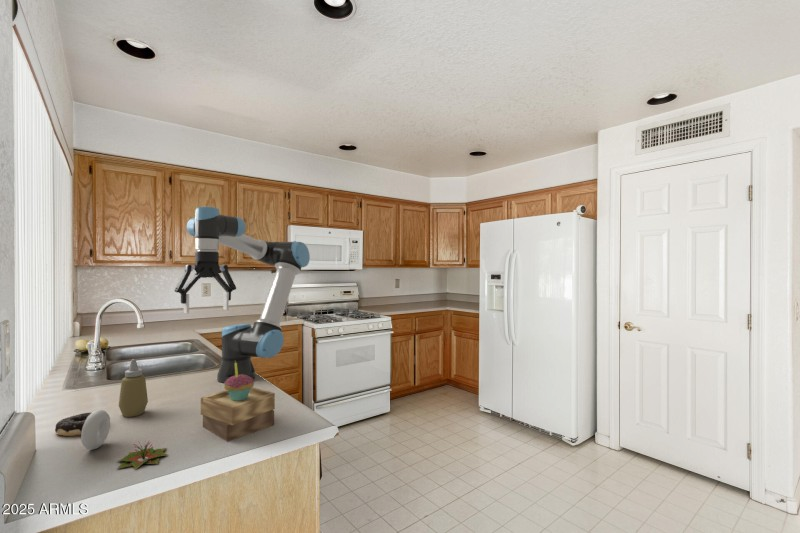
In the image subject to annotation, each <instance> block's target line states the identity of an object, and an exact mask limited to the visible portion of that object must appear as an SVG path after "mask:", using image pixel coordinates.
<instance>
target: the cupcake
mask: <svg viewBox="0 0 800 533" xmlns="http://www.w3.org/2000/svg"><path fill="white" fill-rule="evenodd" d="M235 374H236V375H235V376H232V377H230V378H228V379H227V380H226V381H225V383H223V384H224V386H223V387H224V390H228V393H229V395H230V399H231V400H233V401H241V400H245V399H246V398H247V397H248V394H249V391H250V389H251V388H252V387H254V386H255V382H254V381H255V380H254V378H253V379H252V377H249V376H248V375H243V374H241V375H240V374H239V375H238V370H237V363H236V361H235Z"/></svg>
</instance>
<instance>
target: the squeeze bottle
mask: <svg viewBox="0 0 800 533" xmlns="http://www.w3.org/2000/svg"><path fill="white" fill-rule="evenodd" d="M146 380H147V379H146V376H145V375H144V374H143V370H142V368H139V367H138V363H137V359H136V358H133V359H131V361H130V364H129V368H128V369H126V370H125V371H124V377H123V378H122V379H121V383H120V389H119V390H120V392H119V401H118V408H119V410H120V413H121V415H122V416H123V417H127V418H129V417H131V418H132V417H136V416H140V415H142V414H144V413H145V410H146V408H147V405H148V403H149V399H148V390H147V382H146Z"/></svg>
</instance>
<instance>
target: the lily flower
mask: <svg viewBox="0 0 800 533" xmlns="http://www.w3.org/2000/svg"><path fill="white" fill-rule="evenodd" d="M146 442H147V443H146ZM138 443H140V441H138ZM144 443H146V444H144V445H143V446H142V445H140V446H138V445H137V444H135V443H133V444H132V446H134V448H136V449H134V451H129V452H128V454H127V455H125V456H124V457H122V458H121V459H120V460H117V461H116V462H118V463H119V462H122V463H120V465H119V466H118V467H117V468H116V470H119V469H123V468H126V467H134V469H135V471H136V470H137V469H138V468H140V466H142V465H150V464H151V465H158V464H159V461H160V458H159V457H163V456H164V457H165V456H168V453H165V450H167V447H166V448H165V447H164V448H156V449H154V446H153V444H151V442H150V440H149V441H147V440H145V441H144ZM148 446H149V447H148ZM143 447H144V448H143ZM138 449H139V450H138ZM145 458H146V459H145ZM140 459H142V461H141V460H140ZM149 460H150V461H149Z"/></svg>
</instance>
